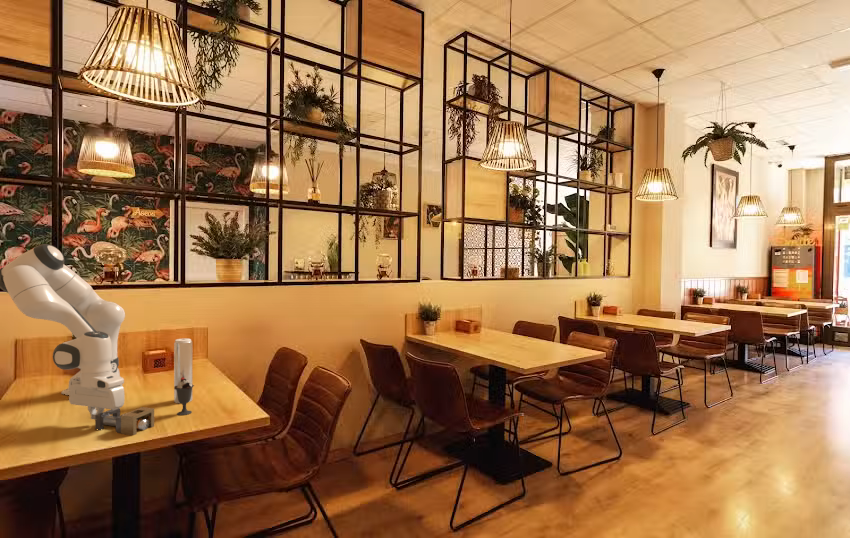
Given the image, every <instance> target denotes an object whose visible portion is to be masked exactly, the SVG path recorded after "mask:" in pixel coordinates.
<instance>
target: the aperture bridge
mask: <svg viewBox="0 0 850 538" xmlns="http://www.w3.org/2000/svg"><path fill="white" fill-rule="evenodd" d="M137 413H138V414H137ZM120 416H121V433H120V434H121V435H129V436H136V435H137V430H138V429H137V425H136V418H139V419H144V420H148V421H149V426H148V428H151V429H152V428H154V427H155V408H154V407H153V408H152V407H146V406H145V407H143V406H142V407H141V406H140V407H138V408H136V409H134V410H133V409H132V410H130V411H129V412H125V413H123V414H120Z"/></svg>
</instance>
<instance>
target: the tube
mask: <svg viewBox="0 0 850 538" xmlns="http://www.w3.org/2000/svg"><path fill="white" fill-rule="evenodd" d="M116 417H118V416H112V415H109V416H106V417H103V426H109V427H116ZM136 425H137V430H143V431H145V430H147V429H148V428H149V427H148V426H149V421H148V420H144V419H136Z"/></svg>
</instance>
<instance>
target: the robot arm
mask: <svg viewBox="0 0 850 538" xmlns="http://www.w3.org/2000/svg"><path fill="white" fill-rule="evenodd" d="M0 289H1V290H2V291H4V293H5V292H6V293H8V295H9V297H10V299H11V300H12V301H13V303H14V305H15V306H16V308H17V309H18V310H19V311H20V312H21V313H23V315H25V316H27V317H29V318H33V319H36V320H44V321H46V320H47V321H52V322H55V323H59V324H61V325H63V326H64V327H66V328H67V329H68V331H69V332H70V333H71V334H72V335H73V336H74V337H75V338H74V339H71V340H68V341H64V342H62V343H60V344H57V345H56V347H55V348H54V350H53V352H52V361H53V363H54V365H55V366H56V367H57V368H59V369H60V370H63V371H65V370H74V369H80V370H79V371H78V372H77V373H76V374H74V375H73V376H71V377H70V378H69V380H68V387H67V388H66V389H63V390H62V391H61V395H64V394H65V395H66V396H68V395H69V396H68V402H69V403H70V404H69V405H75V406H81V407H87V410H88V413H89V414H90V419H91V420H95V415H97V414H100V413H103V412H105V409H106V410H111V409H113V410H114V409H118V408H120V409H121V408H122V407H123V406H124V405H125V388H124V386H123V385H124V384H125V379H124V377H122V376H121V375H120V369H119V366H120V363H119V362H120V360H119V359H120V358H119V357H118V341H119V339H118V338H119V334H120V330H121V325H122V323H123V322H124V321H125V318H126V313H125V309H124V308H123V307H122V306H121V305H119V304H118V303H116V302H114V301H110V300H109V301H108V300H106V299H103V298H101V296H99V294H98V293H97V292H96V291H95V290H94V289H93V287H92V286H91V285H90V283H88V282H87V281H86V280H85V279H83V277H81V276H80V275H79V274H78V273H76V272H75V271H74V270H73V269H71V268H70V267H68V266H67V265H65V256H64V255H63V253H62V252H61V251H60V250H59V249H58V248H57V247H56V246H54V245H51V244H49V243H42V244H39V245H37V246H34V247H33V248H32V249H29V250H28V251H26V252H23V253H22V254H20V255H18V256H17V257H16V258H15V259H13V260H11V261H10V262H8V264H6V265H5V266H4V267H1V268H0ZM65 395H64V396H65Z"/></svg>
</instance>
